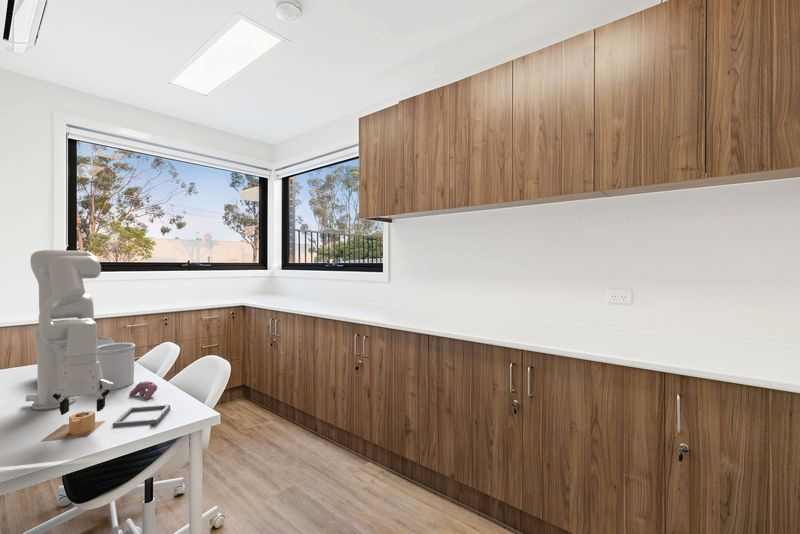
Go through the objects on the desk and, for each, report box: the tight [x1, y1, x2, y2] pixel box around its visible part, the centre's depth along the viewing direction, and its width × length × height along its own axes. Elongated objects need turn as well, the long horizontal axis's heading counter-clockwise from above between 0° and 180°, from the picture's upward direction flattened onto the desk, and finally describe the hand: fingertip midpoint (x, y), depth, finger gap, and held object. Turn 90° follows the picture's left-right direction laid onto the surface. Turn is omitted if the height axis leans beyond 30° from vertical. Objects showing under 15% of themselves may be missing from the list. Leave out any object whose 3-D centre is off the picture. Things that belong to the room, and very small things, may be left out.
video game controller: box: [128, 381, 158, 400], centre depth 153 cm, size 10×5×7 cm, turn 71°
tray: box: [112, 404, 171, 428], centre depth 132 cm, size 13×14×2 cm
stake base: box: [39, 414, 106, 442], centre depth 121 cm, size 12×12×6 cm
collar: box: [68, 410, 96, 434], centre depth 120 cm, size 6×8×5 cm
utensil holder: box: [97, 342, 136, 391], centre depth 166 cm, size 15×15×18 cm
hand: (82, 411), depth 121 cm, fingers open, 9 cm apart
